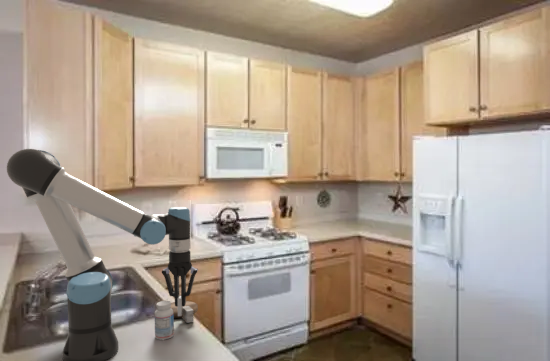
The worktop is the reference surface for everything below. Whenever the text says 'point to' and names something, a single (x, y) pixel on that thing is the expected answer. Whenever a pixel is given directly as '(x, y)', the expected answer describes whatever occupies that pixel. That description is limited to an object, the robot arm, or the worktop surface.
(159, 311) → the pill bottle
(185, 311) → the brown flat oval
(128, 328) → the worktop surface
